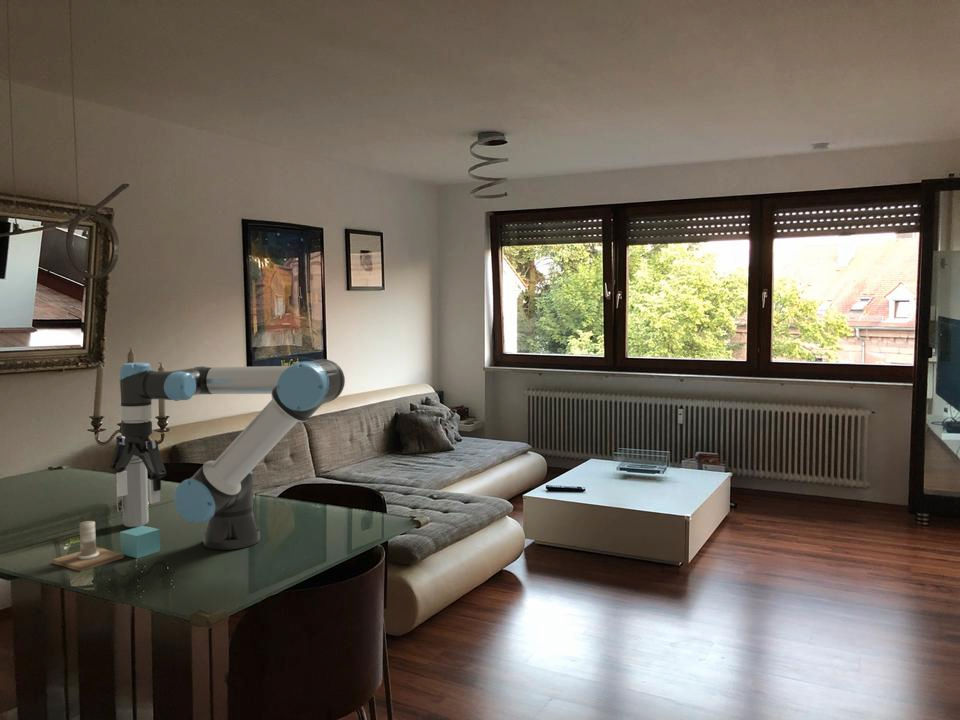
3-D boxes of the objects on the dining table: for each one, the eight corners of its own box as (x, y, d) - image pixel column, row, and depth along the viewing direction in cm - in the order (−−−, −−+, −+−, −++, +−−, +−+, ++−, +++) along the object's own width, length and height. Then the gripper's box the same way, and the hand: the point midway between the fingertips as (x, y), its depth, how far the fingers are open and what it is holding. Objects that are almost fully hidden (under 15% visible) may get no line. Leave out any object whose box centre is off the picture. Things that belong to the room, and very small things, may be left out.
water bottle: (141, 519, 237) (139, 440, 235) (154, 524, 232) (151, 443, 230) (111, 526, 229) (109, 444, 228) (124, 531, 224) (121, 447, 223)
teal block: (160, 550, 207) (159, 529, 206) (137, 558, 201) (136, 536, 200) (143, 546, 210) (142, 525, 210) (120, 553, 204) (119, 532, 204)
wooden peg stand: (123, 557, 201) (122, 520, 201) (80, 571, 191) (79, 532, 190) (95, 550, 207) (94, 514, 206) (52, 563, 197) (51, 525, 196)
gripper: (179, 422, 200) (181, 502, 202) (119, 415, 212) (121, 490, 214) (155, 426, 194) (156, 508, 195) (94, 418, 206) (96, 495, 208)
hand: (138, 499), depth 205 cm, fingers open, 13 cm apart
